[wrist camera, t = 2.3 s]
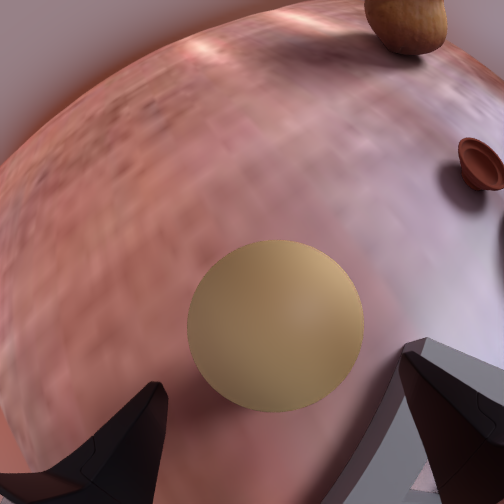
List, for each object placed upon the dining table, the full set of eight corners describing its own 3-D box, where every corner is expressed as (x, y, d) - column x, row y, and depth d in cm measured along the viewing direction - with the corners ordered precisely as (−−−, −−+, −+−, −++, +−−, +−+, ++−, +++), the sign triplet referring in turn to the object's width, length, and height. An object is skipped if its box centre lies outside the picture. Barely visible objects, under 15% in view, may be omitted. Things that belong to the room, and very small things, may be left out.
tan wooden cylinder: (296, 396, 17) (314, 439, 6) (235, 366, 18) (157, 357, 7) (326, 335, 19) (387, 280, 7) (266, 308, 20) (238, 216, 8)
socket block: (449, 531, 9) (467, 545, 6) (314, 511, 13) (318, 533, 10) (519, 389, 14) (544, 387, 11) (405, 343, 18) (426, 337, 14)
